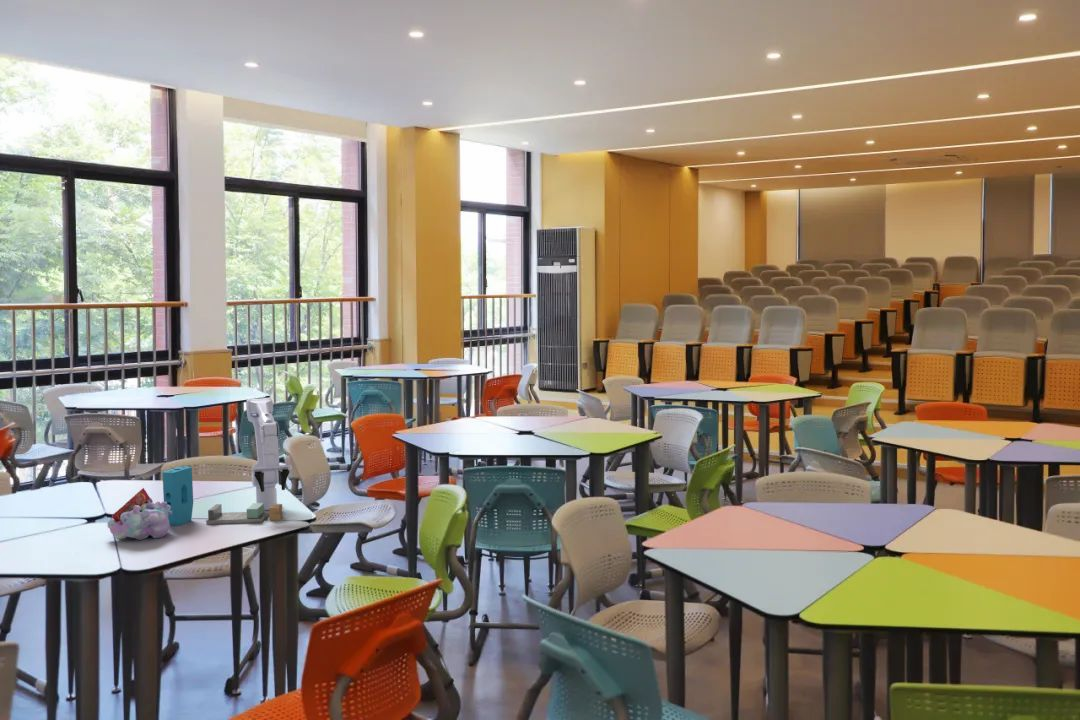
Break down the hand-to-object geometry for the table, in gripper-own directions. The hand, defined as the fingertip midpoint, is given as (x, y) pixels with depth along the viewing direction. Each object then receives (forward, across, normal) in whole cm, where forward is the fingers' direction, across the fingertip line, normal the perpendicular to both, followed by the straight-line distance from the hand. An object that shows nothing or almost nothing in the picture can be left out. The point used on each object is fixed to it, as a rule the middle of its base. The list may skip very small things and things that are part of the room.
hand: (273, 490), depth 346 cm
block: (+9, -35, 0) cm, 36 cm away
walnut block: (+11, 0, +2) cm, 11 cm away
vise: (+10, -14, +2) cm, 17 cm away
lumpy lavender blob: (+12, -42, -20) cm, 48 cm away
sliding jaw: (+8, -7, +2) cm, 11 cm away
